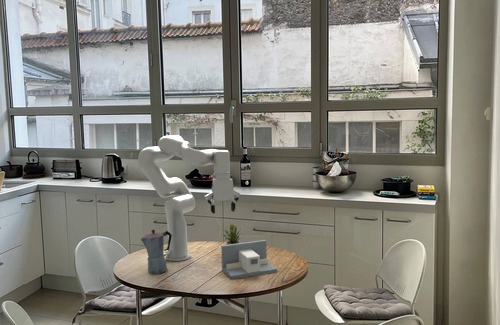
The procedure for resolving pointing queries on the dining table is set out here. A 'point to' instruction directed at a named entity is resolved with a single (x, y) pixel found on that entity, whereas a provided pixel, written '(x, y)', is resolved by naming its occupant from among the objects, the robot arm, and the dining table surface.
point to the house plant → (232, 235)
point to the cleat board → (234, 258)
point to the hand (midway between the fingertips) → (223, 212)
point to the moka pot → (156, 251)
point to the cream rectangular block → (249, 260)
